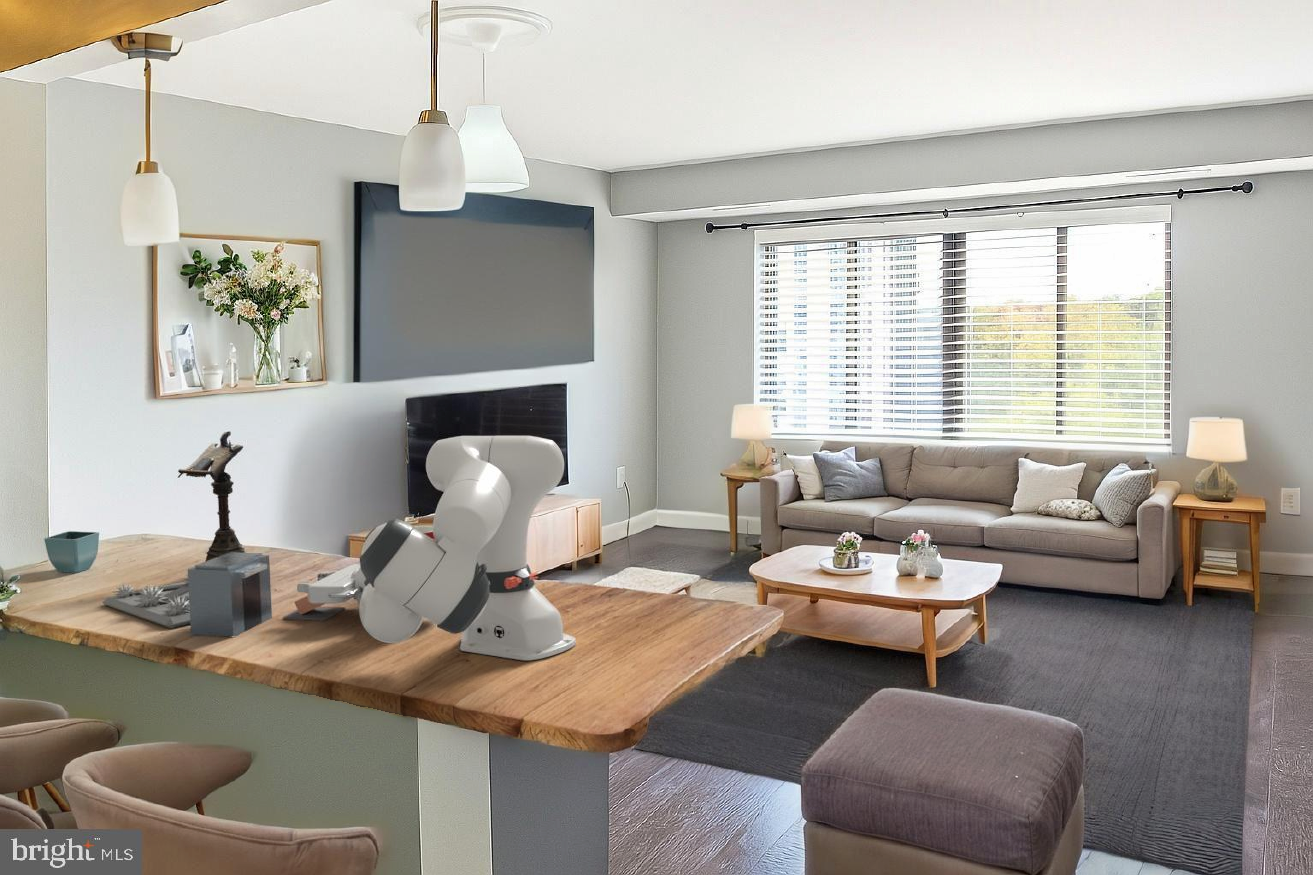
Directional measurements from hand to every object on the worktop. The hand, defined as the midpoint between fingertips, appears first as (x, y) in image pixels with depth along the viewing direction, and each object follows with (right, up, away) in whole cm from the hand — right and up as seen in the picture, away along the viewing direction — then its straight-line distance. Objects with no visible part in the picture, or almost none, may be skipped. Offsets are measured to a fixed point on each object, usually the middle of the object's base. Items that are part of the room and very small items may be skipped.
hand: (309, 581), depth 219 cm
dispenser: (-13, -8, -8) cm, 17 cm away
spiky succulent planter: (-29, -7, +7) cm, 31 cm away
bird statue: (-32, -4, +34) cm, 47 cm away
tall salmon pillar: (-2, -5, +1) cm, 5 cm away
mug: (+19, -5, +22) cm, 29 cm away
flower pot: (-71, -3, +41) cm, 82 cm away
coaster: (+1, -7, +1) cm, 7 cm away
